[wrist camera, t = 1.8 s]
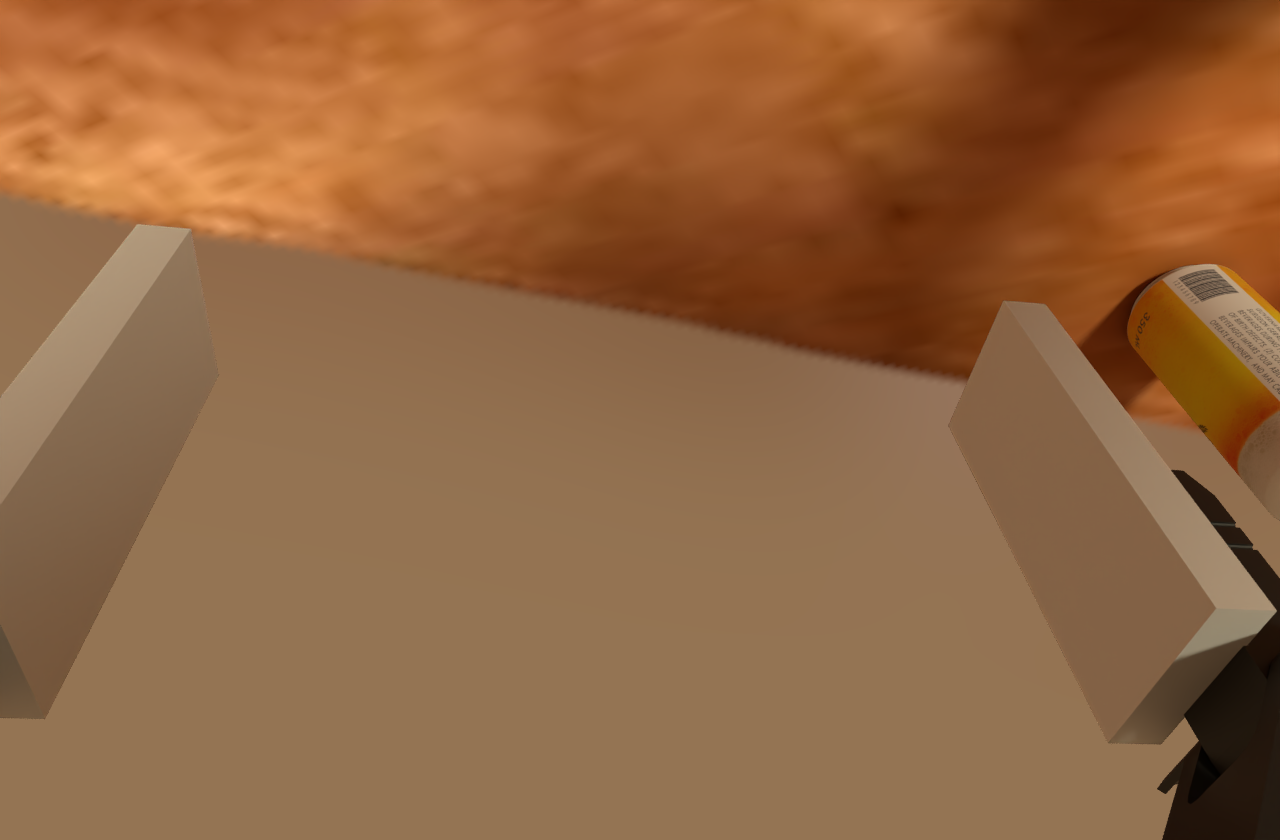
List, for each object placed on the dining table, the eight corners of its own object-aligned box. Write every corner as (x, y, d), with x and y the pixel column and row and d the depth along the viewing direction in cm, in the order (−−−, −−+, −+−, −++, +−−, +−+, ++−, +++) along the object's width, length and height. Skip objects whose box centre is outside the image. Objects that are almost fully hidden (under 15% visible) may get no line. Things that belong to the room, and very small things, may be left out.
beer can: (1124, 365, 53) (1279, 559, 41) (1115, 282, 49) (1281, 470, 38) (1235, 326, 52) (1427, 516, 40) (1234, 239, 48) (1444, 419, 36)
